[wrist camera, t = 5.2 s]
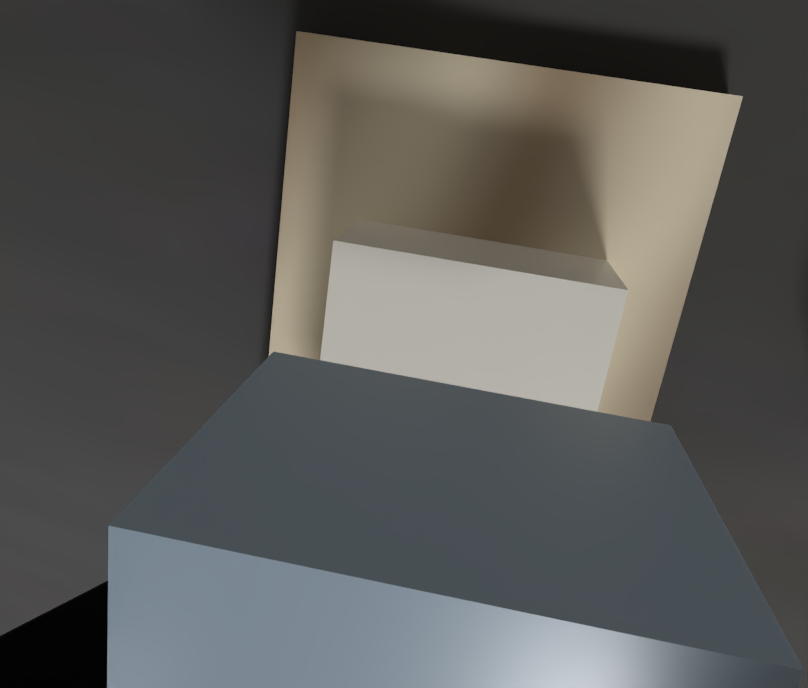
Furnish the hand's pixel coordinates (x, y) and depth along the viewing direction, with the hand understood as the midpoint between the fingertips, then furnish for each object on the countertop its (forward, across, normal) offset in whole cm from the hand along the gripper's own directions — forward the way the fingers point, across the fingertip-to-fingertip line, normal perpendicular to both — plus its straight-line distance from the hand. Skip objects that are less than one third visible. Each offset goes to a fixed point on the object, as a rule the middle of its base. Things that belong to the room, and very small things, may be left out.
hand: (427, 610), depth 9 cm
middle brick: (+1, 0, 0) cm, 1 cm away
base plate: (+11, 0, 0) cm, 11 cm away
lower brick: (+10, 0, 0) cm, 10 cm away
